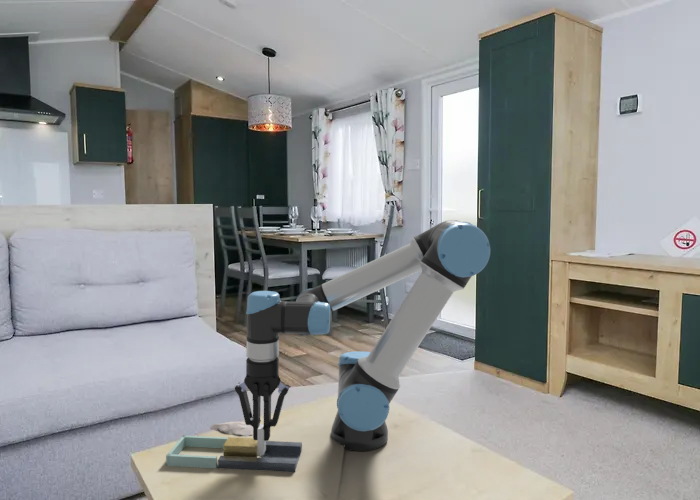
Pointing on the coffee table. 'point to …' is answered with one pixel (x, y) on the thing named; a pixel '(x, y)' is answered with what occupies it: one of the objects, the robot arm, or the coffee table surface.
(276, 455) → the slot board
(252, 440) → the chip
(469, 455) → the coffee table surface
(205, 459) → the tray
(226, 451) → the chip
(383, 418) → the robot arm
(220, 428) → the stone tool
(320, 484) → the coffee table surface
